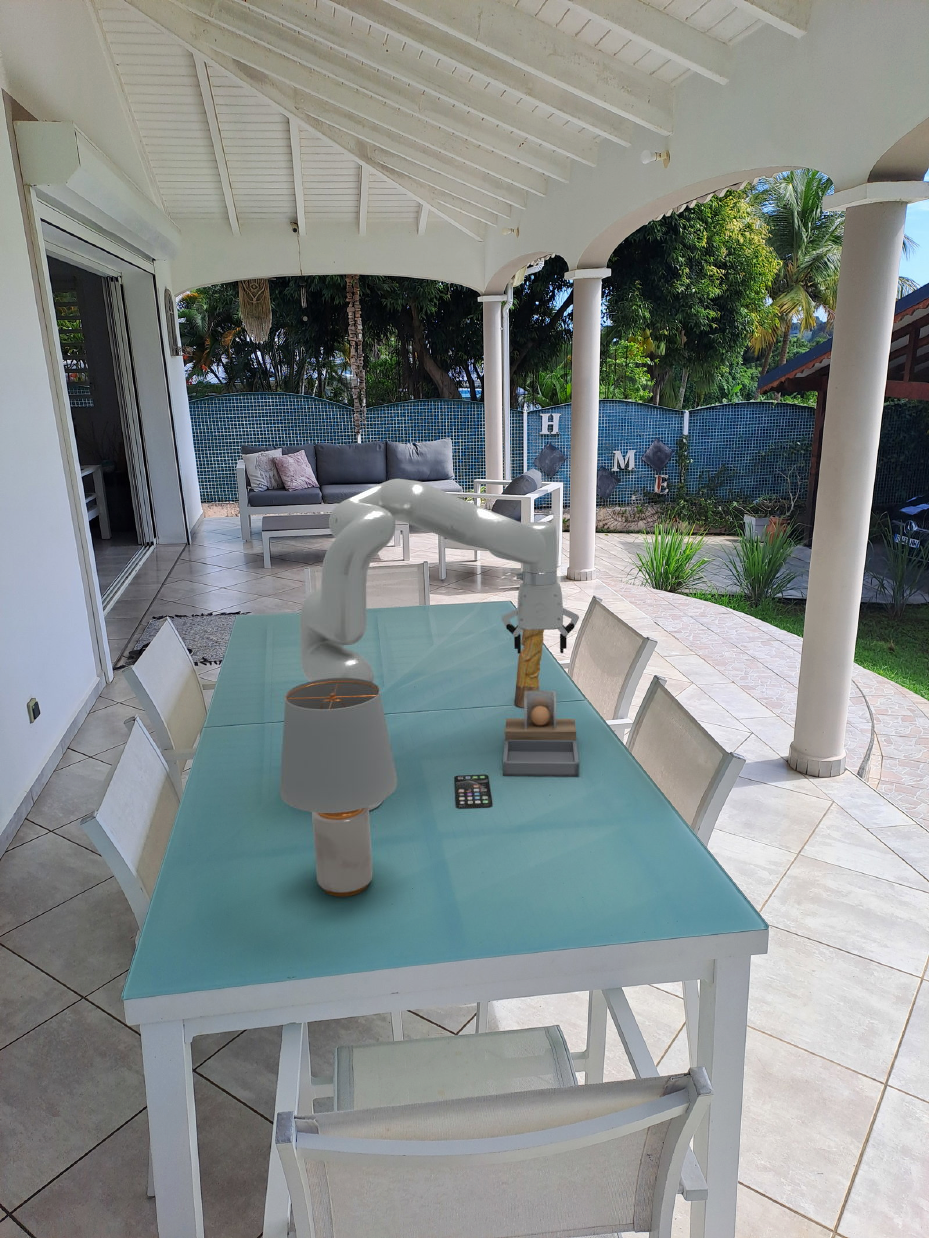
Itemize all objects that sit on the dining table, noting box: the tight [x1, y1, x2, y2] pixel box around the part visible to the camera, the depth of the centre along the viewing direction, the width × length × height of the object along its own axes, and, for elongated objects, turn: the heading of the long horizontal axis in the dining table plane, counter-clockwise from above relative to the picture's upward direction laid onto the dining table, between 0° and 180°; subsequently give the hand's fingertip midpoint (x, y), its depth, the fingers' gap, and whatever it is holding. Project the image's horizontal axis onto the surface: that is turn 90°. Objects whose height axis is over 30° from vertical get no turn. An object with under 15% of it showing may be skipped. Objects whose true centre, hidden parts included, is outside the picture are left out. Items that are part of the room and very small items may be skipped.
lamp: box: [279, 678, 398, 898], centre depth 141 cm, size 19×19×34 cm
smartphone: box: [453, 773, 494, 810], centre depth 178 cm, size 7×1×15 cm
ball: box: [531, 706, 550, 725], centre depth 198 cm, size 4×4×4 cm
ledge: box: [504, 717, 577, 741], centre depth 199 cm, size 8×16×5 cm, turn 85°
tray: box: [502, 739, 580, 778], centre depth 190 cm, size 13×16×3 cm
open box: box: [523, 690, 557, 730], centre depth 198 cm, size 7×7×7 cm
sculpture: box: [513, 629, 545, 709], centre depth 222 cm, size 7×9×30 cm
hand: (540, 651), depth 196 cm, fingers open, 9 cm apart
